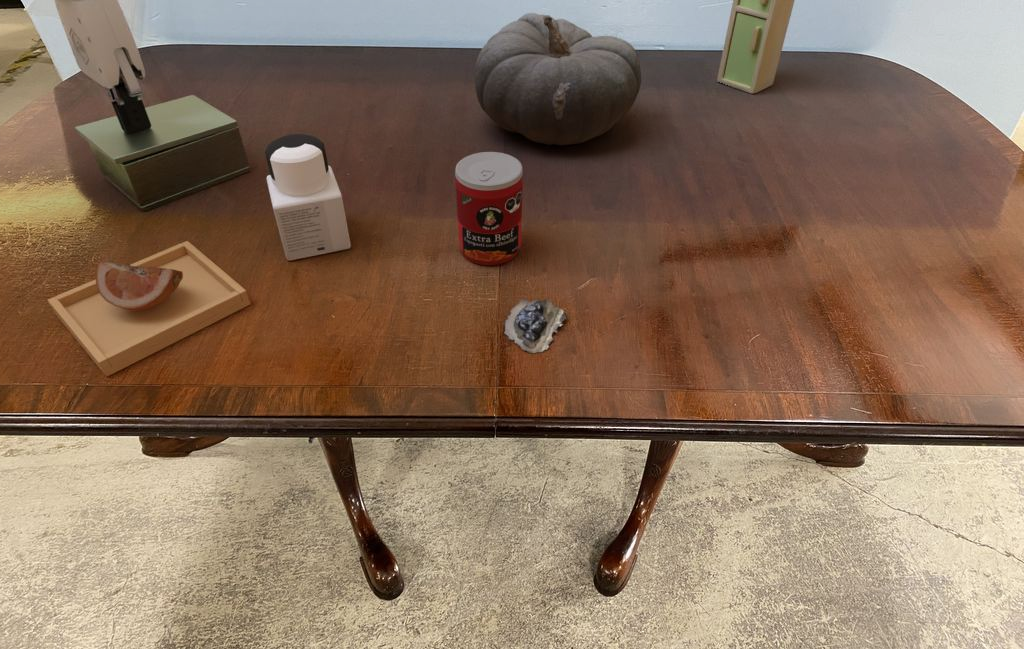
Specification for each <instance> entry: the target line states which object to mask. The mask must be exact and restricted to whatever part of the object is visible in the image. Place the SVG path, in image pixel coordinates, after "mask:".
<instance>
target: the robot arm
mask: <svg viewBox="0 0 1024 649" xmlns="http://www.w3.org/2000/svg"><path fill="white" fill-rule="evenodd" d="M54 4H55V7H56V10H57V13H58V16H59V19H60V22H61V25H62V27H63V30H64V32H65V36H66V38H67V41H68V43H69V46H70V50H71V52H72V54H73V57H74V60H75V62H76V64H77V67H78V68H79V70H80V71H81V72H82V73H83V74H84V75H86V76H87V77H88V78H90V79H92V80H93V81H94V82H96V83H97V84H99V85H100V86H102V87H104V88H105V91H106V93H107V96H108V98H109V99H110V101H111V102H110V103H111V106H112V108H113V110H114V112H115V116H117V118H118V120H119V123H120V125H121V128H122V130H124V131H125V132H126V133H128V134H133V133H137V132H140V131H143V130H146V129H149V128H151V123H150V120H149V117H148V115H147V112H146V109H145V108H146V106H145V104H144V102H143V98H142V95H143V91H142V88H141V85H140V84H139V81H138V80H140V81H144V79H145V77H146V70H145V66H144V64H143V60H142V57H141V54H140V51H139V49H138V46H137V42H136V41H135V38H134V36H133V33H132V30H131V28H130V26H129V24H128V21H127V18H126V16H125V14H124V11H123V9H122V7H121V4H120V3H119V0H54Z"/></svg>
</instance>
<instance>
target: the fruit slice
mask: <svg viewBox="0 0 1024 649" xmlns="http://www.w3.org/2000/svg"><path fill="white" fill-rule="evenodd" d="M130 265H131V263H127V264H124V263H121V262H119V263H117V262H116V263H115V262H110V261H98V263H97V265H96V272H95V279H96V285H97V289H98V291H99V293H100V295H101V296H102V297H103V298H104V299H105V300H106V301H107V302H108V303H110V304H112V305H114V306H116V307H119V308H122V309H126V310H144V309H148V308H152V307H154V306H156V305H158V304H160V303H162V302H163V301H165V300H166V299H167V298H168V297H169V296H170V295H171V294H172V293H173V292H174V291H175V290H176V289H177V287H178V286H179V283H180V282H181V280H182V278H183V272H182V271H177V270H174V269H166V268H155V267H146V268H145V267H137V266H130Z"/></svg>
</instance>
